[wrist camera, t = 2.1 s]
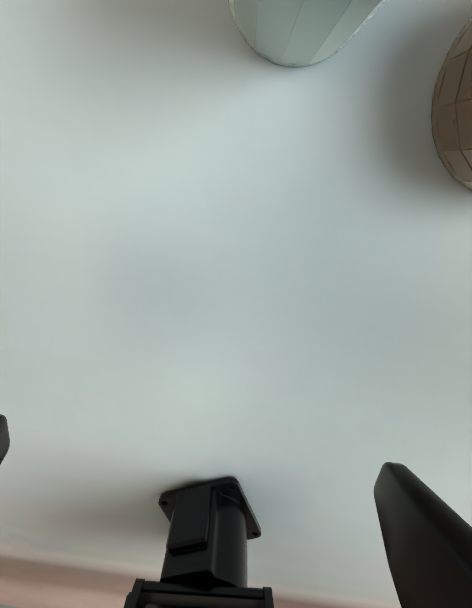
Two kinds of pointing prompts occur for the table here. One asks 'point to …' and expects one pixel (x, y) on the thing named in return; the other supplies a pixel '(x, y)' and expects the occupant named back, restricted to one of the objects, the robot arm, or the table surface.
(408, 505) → the robot arm
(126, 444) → the table surface
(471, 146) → the cup
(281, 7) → the tumbler
